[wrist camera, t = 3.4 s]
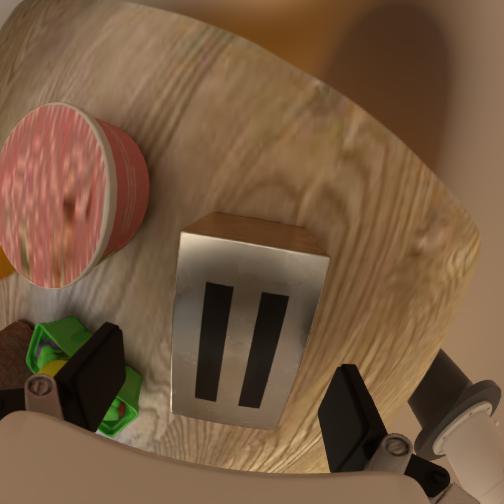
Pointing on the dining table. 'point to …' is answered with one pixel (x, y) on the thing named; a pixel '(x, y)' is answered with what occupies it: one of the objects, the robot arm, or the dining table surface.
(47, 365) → the fruit basket
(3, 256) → the beer can
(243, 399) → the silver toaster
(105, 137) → the container
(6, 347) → the candle
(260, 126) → the dining table surface
